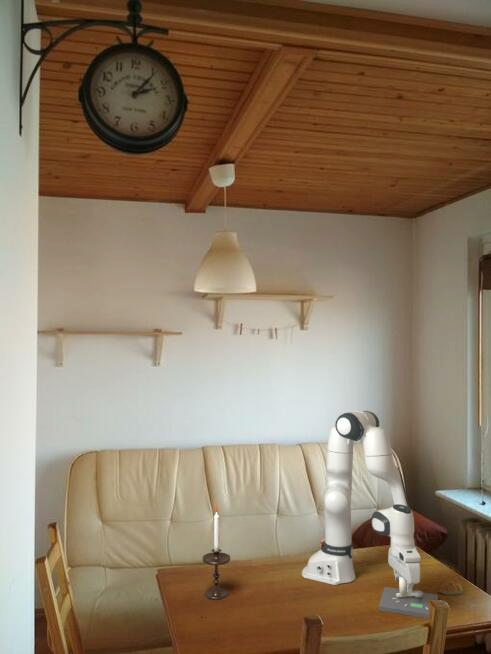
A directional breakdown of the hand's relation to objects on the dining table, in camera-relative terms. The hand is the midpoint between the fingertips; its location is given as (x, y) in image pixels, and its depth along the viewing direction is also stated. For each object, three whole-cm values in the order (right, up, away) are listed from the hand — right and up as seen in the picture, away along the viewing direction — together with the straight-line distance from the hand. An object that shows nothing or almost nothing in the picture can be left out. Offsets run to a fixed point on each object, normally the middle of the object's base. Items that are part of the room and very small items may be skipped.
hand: (403, 586), depth 207 cm
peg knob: (+2, -4, 0) cm, 5 cm away
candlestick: (-72, -6, +6) cm, 72 cm away
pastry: (+21, -7, +9) cm, 24 cm away
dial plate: (+1, -6, -2) cm, 6 cm away
